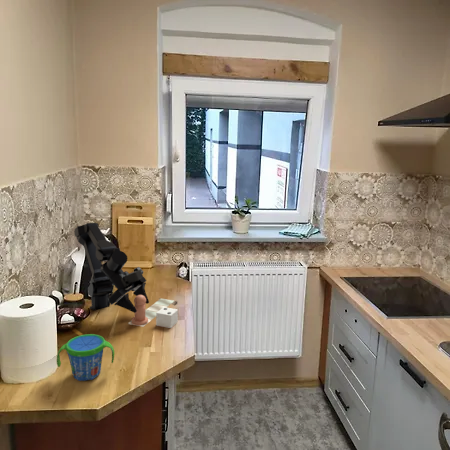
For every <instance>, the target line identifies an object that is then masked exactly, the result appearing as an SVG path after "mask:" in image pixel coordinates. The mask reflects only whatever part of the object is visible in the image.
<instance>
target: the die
mask: <svg viewBox="0 0 450 450" xmlns="http://www.w3.org/2000/svg"><path fill="white" fill-rule="evenodd" d="M178 315H179V309H177V308H171V307H167V308H166V307H163V308H162V309H160V310H159V311H158V312H157V313H156V317H155V326H156V327H162V328H168V329H172V328H173V327H174V326H175V325H176V324H177V323H178V321H179V319H178V317H179V316H178Z"/></svg>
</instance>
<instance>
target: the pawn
mask: <svg viewBox="0 0 450 450" xmlns="http://www.w3.org/2000/svg"><path fill="white" fill-rule="evenodd" d="M133 303H134V307H135V308H136V310H137V312H135V313H134V316H133V317H132V318H131V321H132V323H133V324H135V325H134V326H137V325H144V324H146V323H147V324H149V323H148V318H147V317H145V310H146V309H147V308H146V298H145V297H144V296H143V295H138V296H136V295H135V296H134V299H133ZM147 324H146V325H147Z"/></svg>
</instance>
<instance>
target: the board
mask: <svg viewBox="0 0 450 450" xmlns="http://www.w3.org/2000/svg"><path fill="white" fill-rule="evenodd" d="M177 304H178V301H177V300H173V299H166V298H160V297H159V298H158V300H157V301H155V302H154V303H153V304H152V305H150V306H149V307H148V308H146V310H145V317H147V318H148V323H146V324H144V325H135V324H133V323H132V320H130V321H129V322H128V323H127V325H131V326H132V325H133V326H137V327H142V328H144V327H145V326H146V325H147V324H149V323H150V322H151V321H152V320H154V319H156V313H157V312H158V311H159V310H160V309H162V308H163V307H166V308H168V307H169V306H170V305H172V306H177Z"/></svg>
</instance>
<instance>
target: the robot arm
mask: <svg viewBox="0 0 450 450" xmlns="http://www.w3.org/2000/svg"><path fill="white" fill-rule="evenodd" d="M73 234H74V237H75V238H76V240H77V242H78V243H79V244H80V245H81V246H82V247H83V248H84V251H85V254H86V259H87V262H88V265H89V269H90V271H91V275H92V276H91V278H90V281H89V286H88V287H87V294H88V296H90V298H91V300H90V301H91V306H89V309H91V310H92V311H94V312H95V311H99V310H103V309H106V308H110V306H112V305H114V306H117V307H121V308H122V309H126V310H128V311H129V312H131V313H134V314H135V312H137V310H136V308H135V304H133V303H132V301H131V299H130V297H129V295H130V294H129V292H132V294H133V295H134V296H135V297H136V296H138V295H143V296H144V297H145V298H146V304H149V303H150V301H149V298H148V295H147V291H146V289H145V288H146V285H147V283H146V282H147V279H146V278H145V276H144V270H143V269H142V268H141V267H139V266H138V267H135V268H133V271H131V272H130V273H129V272H128V271H125V270H123V268H124V266H125V264H126V263H127V262H128V255H127V254H126V252H125V251H122V250H121V249H120V247H118V248H117V246H116V245H115V244H114V243H113V242H111V241H109V240H107V238H106V236H105V235H104V234H103V231H102V230H101V229H100V226H99V223H97V222H87V223H84V224H82V225H77V226H76V228H74V233H73ZM102 262H104V263H102ZM114 287H115V288H116V290H115V291H114Z"/></svg>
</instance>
